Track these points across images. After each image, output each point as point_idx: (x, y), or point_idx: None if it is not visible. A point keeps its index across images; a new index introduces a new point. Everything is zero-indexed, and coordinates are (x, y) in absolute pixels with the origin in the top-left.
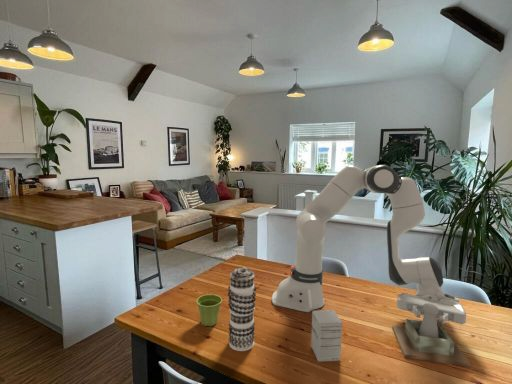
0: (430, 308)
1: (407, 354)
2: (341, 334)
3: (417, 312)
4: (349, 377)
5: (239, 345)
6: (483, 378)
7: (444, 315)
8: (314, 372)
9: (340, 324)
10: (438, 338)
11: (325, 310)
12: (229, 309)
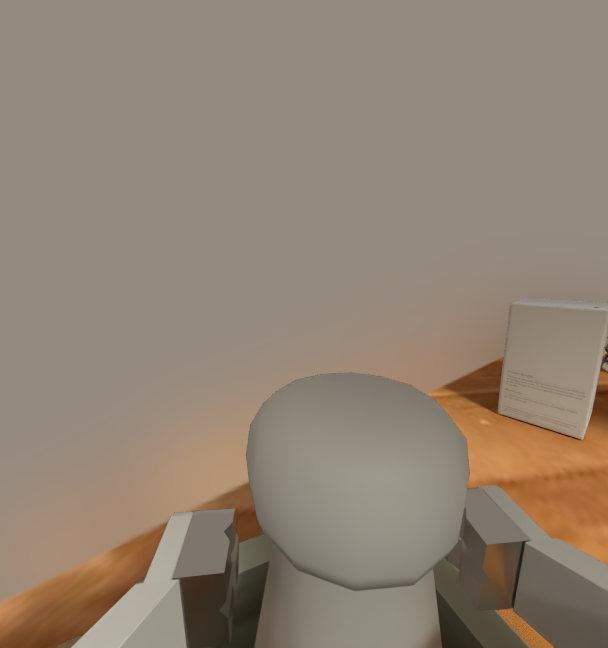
0: (338, 373)
1: None
2: (506, 340)
3: (477, 488)
4: (436, 394)
5: (605, 354)
6: (57, 580)
7: (128, 618)
8: (483, 380)
9: (509, 308)
10: (253, 565)
11: (604, 305)
12: None
